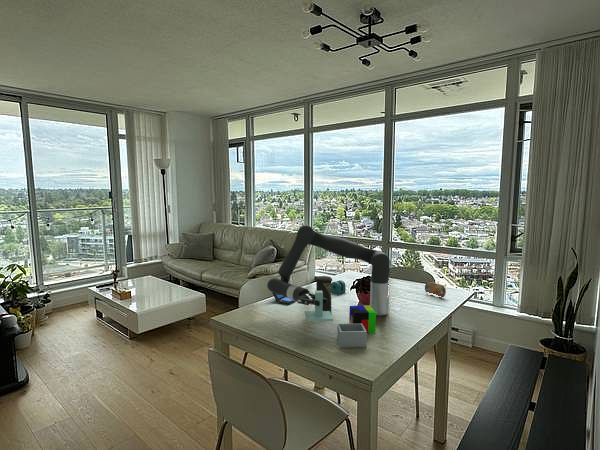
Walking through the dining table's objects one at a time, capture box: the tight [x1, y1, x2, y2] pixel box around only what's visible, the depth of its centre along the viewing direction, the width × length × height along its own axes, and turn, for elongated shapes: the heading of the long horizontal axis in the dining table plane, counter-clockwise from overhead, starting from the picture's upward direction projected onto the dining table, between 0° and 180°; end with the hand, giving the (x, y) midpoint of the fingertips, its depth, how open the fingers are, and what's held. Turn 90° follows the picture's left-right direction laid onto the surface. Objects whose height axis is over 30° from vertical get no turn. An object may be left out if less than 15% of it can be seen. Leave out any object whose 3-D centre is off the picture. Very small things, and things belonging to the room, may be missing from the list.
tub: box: [336, 323, 368, 349], centre depth 147 cm, size 11×9×7 cm
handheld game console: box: [271, 292, 296, 306], centre depth 206 cm, size 16×13×9 cm
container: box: [314, 275, 333, 313], centre depth 183 cm, size 9×9×20 cm
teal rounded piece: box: [331, 279, 347, 296], centre depth 225 cm, size 18×7×8 cm, turn 42°
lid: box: [304, 290, 334, 322], centre depth 157 cm, size 12×10×12 cm
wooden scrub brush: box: [424, 281, 447, 298], centre depth 215 cm, size 15×3×8 cm, turn 25°
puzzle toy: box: [348, 304, 377, 334], centre depth 162 cm, size 10×10×10 cm
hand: (323, 302), depth 154 cm, fingers closed on lid, 4 cm apart
